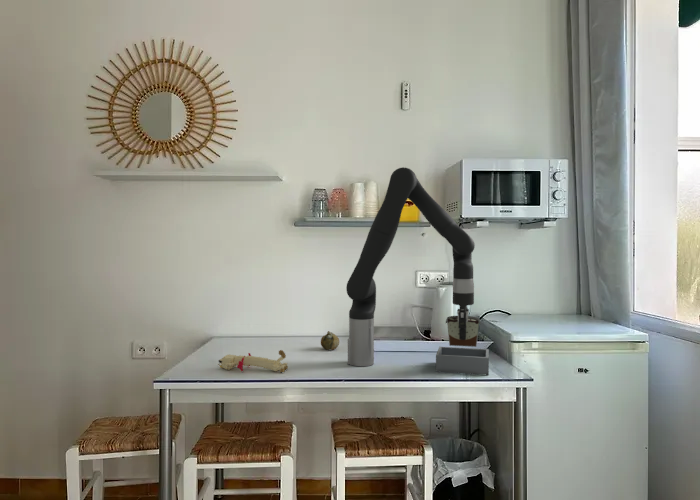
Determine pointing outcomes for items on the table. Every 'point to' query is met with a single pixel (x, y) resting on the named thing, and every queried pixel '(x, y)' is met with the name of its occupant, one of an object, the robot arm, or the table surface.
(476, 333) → the food container
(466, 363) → the grey bin
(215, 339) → the table surface
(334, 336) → the onion
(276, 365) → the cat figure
